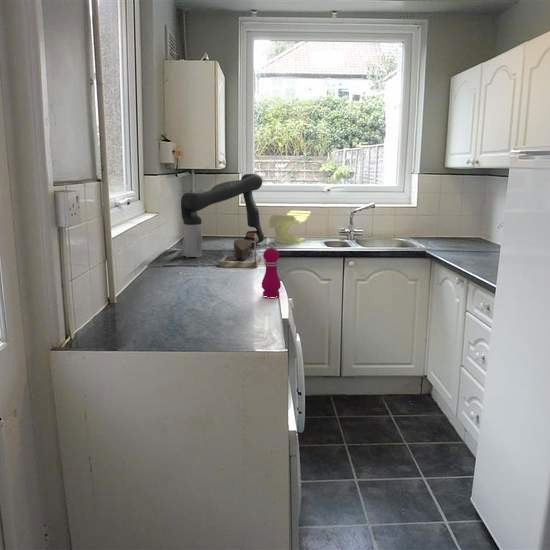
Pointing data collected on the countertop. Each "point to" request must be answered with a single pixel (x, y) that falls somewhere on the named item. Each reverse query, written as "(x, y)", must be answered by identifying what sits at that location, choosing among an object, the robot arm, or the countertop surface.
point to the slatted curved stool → (284, 222)
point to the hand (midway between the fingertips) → (246, 246)
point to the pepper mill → (271, 273)
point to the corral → (227, 263)
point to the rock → (241, 248)
